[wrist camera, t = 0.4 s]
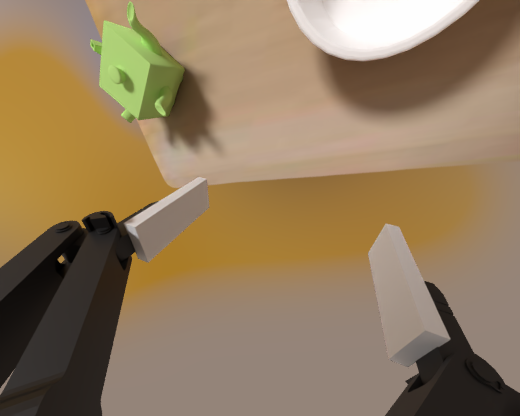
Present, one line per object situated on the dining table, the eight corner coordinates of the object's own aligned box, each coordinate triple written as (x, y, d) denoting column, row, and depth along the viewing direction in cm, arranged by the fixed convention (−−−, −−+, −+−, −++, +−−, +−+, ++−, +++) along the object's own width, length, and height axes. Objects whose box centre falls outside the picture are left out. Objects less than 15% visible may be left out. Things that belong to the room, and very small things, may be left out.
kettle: (179, 22, 33) (122, -4, 24) (203, 110, 40) (165, 115, 31) (124, 45, 39) (60, 31, 30) (153, 119, 46) (108, 126, 37)
